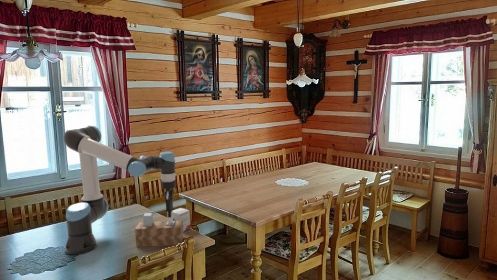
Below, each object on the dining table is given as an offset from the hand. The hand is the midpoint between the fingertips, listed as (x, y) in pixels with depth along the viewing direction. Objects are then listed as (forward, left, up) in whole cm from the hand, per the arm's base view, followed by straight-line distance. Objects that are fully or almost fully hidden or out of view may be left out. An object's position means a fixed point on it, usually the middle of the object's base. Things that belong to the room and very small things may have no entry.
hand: (170, 222), depth 193 cm
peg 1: (-12, 0, -5) cm, 13 cm away
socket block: (-6, 0, -11) cm, 13 cm away
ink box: (+3, +17, -11) cm, 21 cm away
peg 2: (0, 0, -11) cm, 10 cm away
